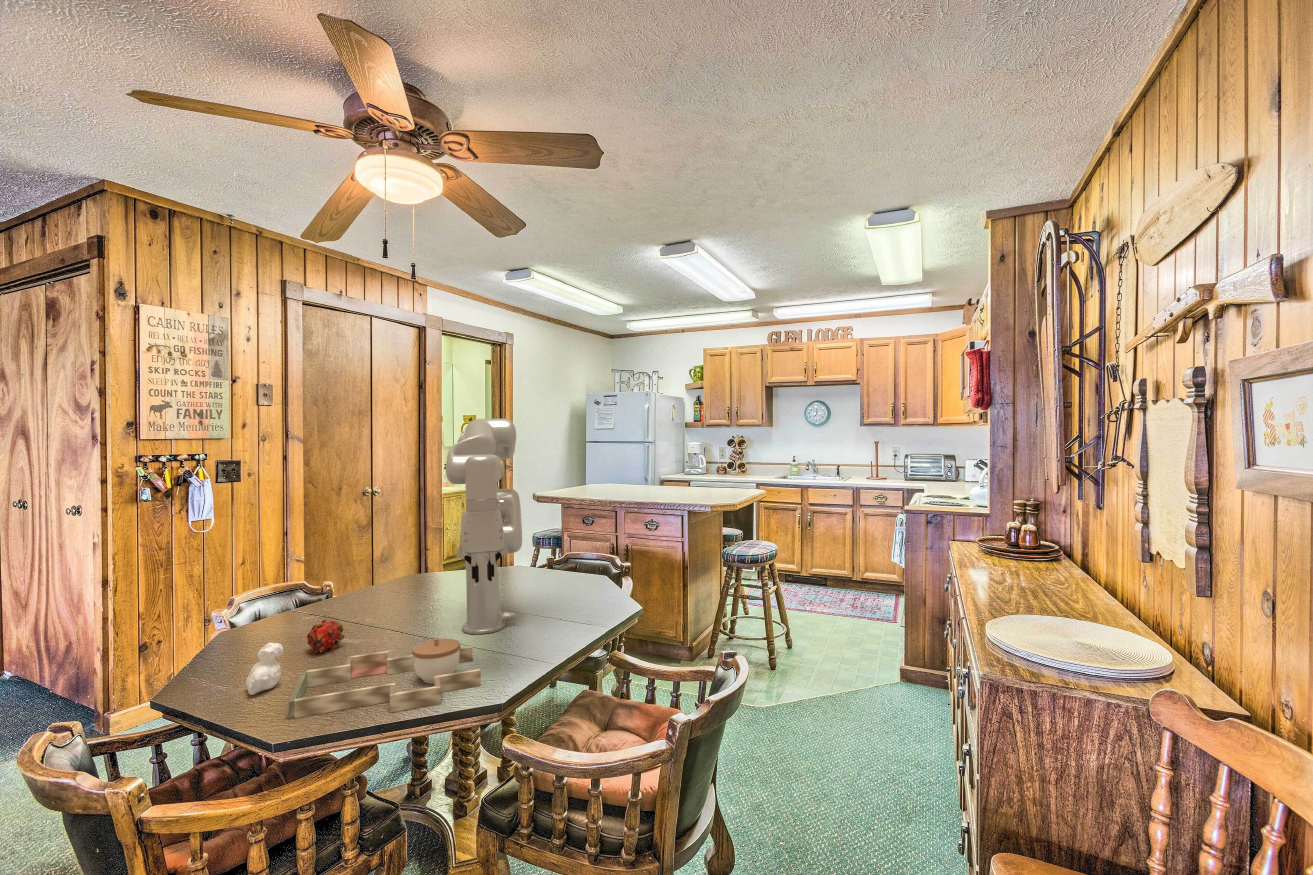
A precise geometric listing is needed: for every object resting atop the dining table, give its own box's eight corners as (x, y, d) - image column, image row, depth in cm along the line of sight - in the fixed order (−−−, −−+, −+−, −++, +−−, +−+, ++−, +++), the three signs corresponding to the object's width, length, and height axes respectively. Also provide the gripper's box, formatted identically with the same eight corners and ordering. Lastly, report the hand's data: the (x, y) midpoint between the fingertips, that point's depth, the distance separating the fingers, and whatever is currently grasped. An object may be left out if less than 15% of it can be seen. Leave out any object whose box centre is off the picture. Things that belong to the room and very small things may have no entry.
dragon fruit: (338, 646, 169) (320, 668, 158) (311, 631, 168) (291, 652, 156) (355, 623, 169) (338, 643, 157) (328, 607, 168) (309, 627, 156)
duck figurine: (260, 707, 132) (295, 662, 135) (227, 691, 130) (264, 646, 132) (270, 687, 143) (302, 646, 146) (240, 672, 140) (273, 631, 143)
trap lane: (469, 652, 158) (469, 639, 158) (484, 695, 131) (483, 679, 131) (306, 677, 143) (306, 662, 143) (283, 731, 116) (283, 713, 116)
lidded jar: (432, 691, 134) (431, 649, 134) (403, 681, 139) (402, 642, 139) (470, 674, 143) (469, 636, 143) (441, 666, 148) (440, 629, 148)
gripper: (512, 502, 152) (513, 574, 152) (446, 506, 146) (447, 581, 146) (517, 505, 145) (519, 580, 145) (448, 509, 139) (449, 587, 139)
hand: (483, 580), depth 146 cm, fingers open, 2 cm apart
